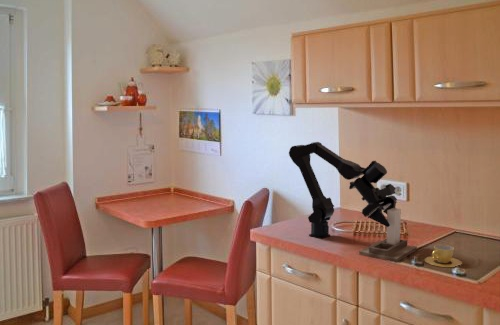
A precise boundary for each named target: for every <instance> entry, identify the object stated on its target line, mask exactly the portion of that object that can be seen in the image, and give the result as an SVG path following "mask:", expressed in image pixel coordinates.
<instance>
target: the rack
mask: <svg viewBox="0 0 500 325" xmlns="http://www.w3.org/2000/svg"><path fill="white" fill-rule="evenodd" d="M417 250H418V247H417V246H413V245H408V240H406V239H401V238H400V243H398V244H396V245H395V244H389V243H387V238H384V239H383V240H379V241H378V242H375V243H374V244H372V245H370V246H368V247H365V248H363V249H362V250H359V254H358V255H360V256H365V257H369V258H375V259H380V260H383V259H384V261H388V260H390V261H389V262H393V261H395V262H394V263H397V262H399V261H401V260H402V259H404V258H406V257H408V256H409V255H411V254H413V253H414V252H416V251H417Z"/></svg>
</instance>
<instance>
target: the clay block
mask: <svg viewBox="0 0 500 325" xmlns="http://www.w3.org/2000/svg"><path fill="white" fill-rule="evenodd" d="M401 211H402V209H401V208H396V207H395V208H392V209H389V210H387V214H386V215H387V216H386V219H387V221H388V222H389V224H390V226H389V227H387V226H386V239H387V243H389V244H395V245H396V244H398V243H400V239H401V221H400V220H401V217H402V216H401Z"/></svg>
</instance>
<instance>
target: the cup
mask: <svg viewBox="0 0 500 325" xmlns="http://www.w3.org/2000/svg"><path fill="white" fill-rule="evenodd" d="M454 252H455V247H454V246H451V245H448V244H435V245H434V246H433V251H432V253H431V256H427V257H425V258H424V262H425V263H427V264H429V265H432V266H436V267H439V268H440V267H443V268H456V267H455V266H456V265H457V264H462V265H463V262H462V261H461V260H460V259H457V258H455V257H453V256H454ZM435 261H437V262H438V263H436V262H435ZM450 262H451V263H450Z"/></svg>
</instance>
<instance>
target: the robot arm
mask: <svg viewBox="0 0 500 325" xmlns="http://www.w3.org/2000/svg"><path fill="white" fill-rule="evenodd" d="M311 154H315V155H316V156H318V157H319V158H321V159H322V160H324V161H325V162H326V163H328V164H330V165H331V166H333V167H334V168H335V169H336V170H337V172H338V173H339V175H341V177H343V178H344V179H345V180H347V181H348V180H353V179H355V180H354V181H349V190H352V189H356V191H357V192H358V193H359V194H360V195H361V200H362V201H365V202H366V203H367V205H366V206H365V207H363V208H362V209H361V213H362V215H363V216H364V217H365V218H366V217H367V219H370V220H373V221H375V222H377V223H379V224H381V225H383V226H384V227H386V228H387V227H389V226H390V224H389V222H388V221H387V217H386V216H385V215H387V210H389V209H392V208H396V205H397V203H398V202H397V201H398V199H397V197H396V196H395V195H396V186H394V185H393V184H392V183H388V184H385V187H384V188H383V187H382V188H381V189H380V188H379V187H375V186H374V185H373V184H377V183H378V182H379V181H380V180H382V178H383V177H385V175H386V174H387V173H388V171H387V169H386V167H385V166H384V165H382V164H381V163H379V162H377V161H376V160H371V162H370V163H369V164H368V165H367V167H362V166H361V165H360V164H359V163H356V162H354V161H351V160H348V159H345V158H343V157H341V156H340V155H338V154H337V153H336V152H334V151H332V150H331V149H329V148H328V147H326V146H325V145H324V144H322V143H321V142H319V141H315V142H314V141H313V142H311V143H308V144H299V145H293V146H291V147H290V148H289V151H288V156H289V158H290V159H291V161H292V163H293V164H295V165H296V166H297V168H299V171H300V172H301V173H300V174H301V175H302V177H303V180H304V183H305V185H306V188H307V190H308V192H309V195H310V197H311V198H312V199H311V200H312V201H311V203H312V204H311V207H312V213H311V214H310V215H309V216H308V217H307V218H308V222H309V223H311V225H310V227H311V228H310V229H311V230H310V232H311V233H309V234H308V237H313V238H316V239H324V238H327V237H331V234H330V232H329V230H330V228H329V221H330V220H331V219H332V218H331V217H332V216H333V215H334V213H335V205H334V204H333V202H332V198H331V197H327V196H325V195H324V192H323V191H322V189H321V186H320V184H319V181H318V179H317V176H316V174H315V172H314V169H313V167H312V165H311ZM384 214H385V215H384ZM400 222H401V219H400Z"/></svg>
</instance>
